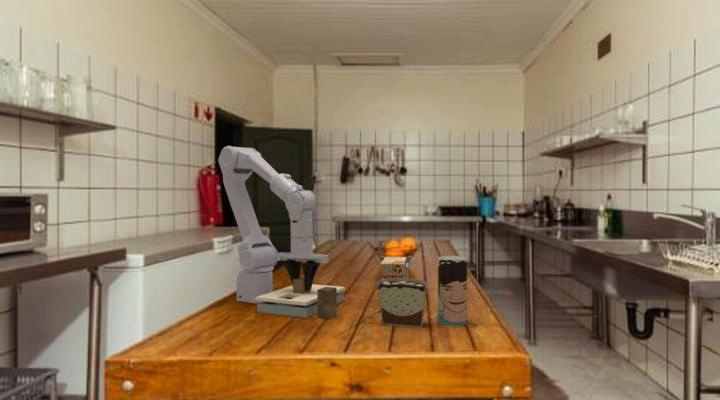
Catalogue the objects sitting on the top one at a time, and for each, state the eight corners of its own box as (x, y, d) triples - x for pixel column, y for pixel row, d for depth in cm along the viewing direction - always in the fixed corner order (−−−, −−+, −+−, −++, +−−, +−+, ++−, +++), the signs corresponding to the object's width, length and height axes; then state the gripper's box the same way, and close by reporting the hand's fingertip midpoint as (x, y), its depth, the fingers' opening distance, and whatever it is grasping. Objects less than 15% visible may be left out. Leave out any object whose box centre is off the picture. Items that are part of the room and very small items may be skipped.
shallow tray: (257, 315, 130) (257, 303, 130) (299, 299, 148) (299, 289, 148) (306, 321, 124) (305, 308, 124) (343, 303, 142) (343, 292, 142)
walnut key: (317, 321, 124) (317, 289, 124) (325, 317, 128) (325, 286, 128) (328, 322, 123) (328, 290, 123) (336, 318, 127) (336, 287, 126)
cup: (436, 324, 120) (435, 259, 120) (440, 317, 127) (440, 255, 126) (465, 326, 118) (465, 260, 118) (468, 319, 125) (468, 256, 124)
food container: (433, 321, 123) (433, 279, 123) (428, 328, 117) (428, 283, 117) (383, 317, 127) (383, 276, 127) (376, 323, 121) (375, 280, 121)
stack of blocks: (388, 293, 157) (387, 252, 157) (409, 293, 156) (408, 252, 156) (380, 310, 136) (380, 262, 135) (404, 310, 135) (404, 262, 134)
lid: (255, 300, 130) (255, 283, 130) (299, 286, 149) (298, 270, 148) (306, 305, 124) (306, 287, 124) (345, 290, 142) (344, 274, 142)
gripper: (269, 237, 135) (270, 289, 136) (318, 239, 129) (319, 294, 129) (284, 235, 142) (285, 285, 142) (332, 237, 136) (332, 289, 136)
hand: (302, 289), depth 136 cm, fingers closed on lid, 3 cm apart
